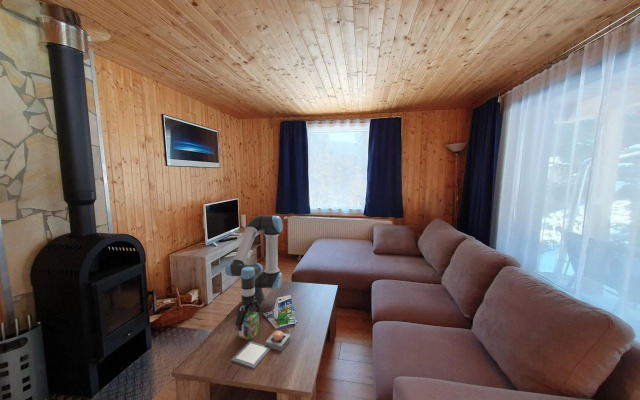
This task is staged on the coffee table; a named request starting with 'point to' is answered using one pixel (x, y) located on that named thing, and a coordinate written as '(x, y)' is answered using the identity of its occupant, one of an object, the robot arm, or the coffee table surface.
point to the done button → (277, 335)
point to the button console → (276, 345)
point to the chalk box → (250, 326)
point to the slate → (251, 354)
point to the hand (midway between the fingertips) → (248, 328)
